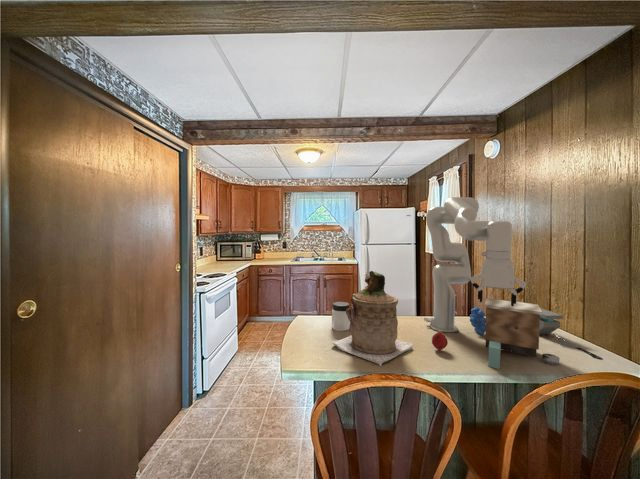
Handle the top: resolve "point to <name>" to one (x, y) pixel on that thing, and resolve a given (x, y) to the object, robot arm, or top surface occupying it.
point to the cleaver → (570, 345)
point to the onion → (439, 340)
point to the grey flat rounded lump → (550, 359)
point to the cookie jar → (373, 324)
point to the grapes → (478, 320)
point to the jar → (340, 316)
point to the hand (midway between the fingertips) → (496, 303)
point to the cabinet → (513, 326)
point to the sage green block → (494, 354)
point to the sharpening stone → (548, 321)
